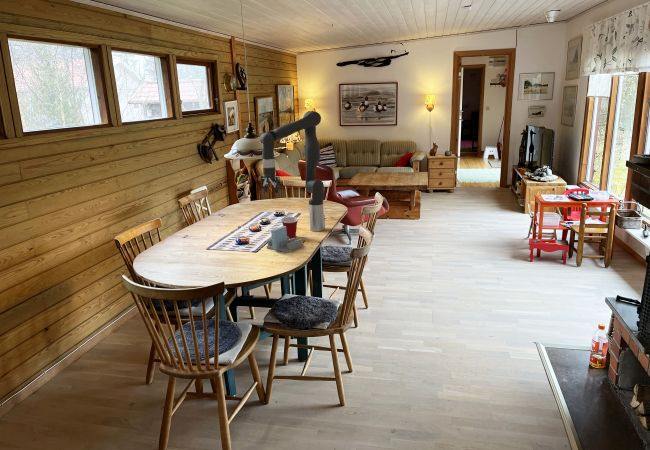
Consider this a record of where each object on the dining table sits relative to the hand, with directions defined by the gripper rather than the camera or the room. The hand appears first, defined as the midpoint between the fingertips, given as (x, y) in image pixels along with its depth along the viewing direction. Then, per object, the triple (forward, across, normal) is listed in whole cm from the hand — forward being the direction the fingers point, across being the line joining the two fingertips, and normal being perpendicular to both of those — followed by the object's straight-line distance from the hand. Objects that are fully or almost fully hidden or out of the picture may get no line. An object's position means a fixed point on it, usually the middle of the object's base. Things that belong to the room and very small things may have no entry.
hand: (271, 192), depth 291 cm
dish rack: (+28, -21, +14) cm, 38 cm away
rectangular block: (+27, -21, +18) cm, 39 cm away
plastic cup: (+28, -11, -3) cm, 31 cm away
